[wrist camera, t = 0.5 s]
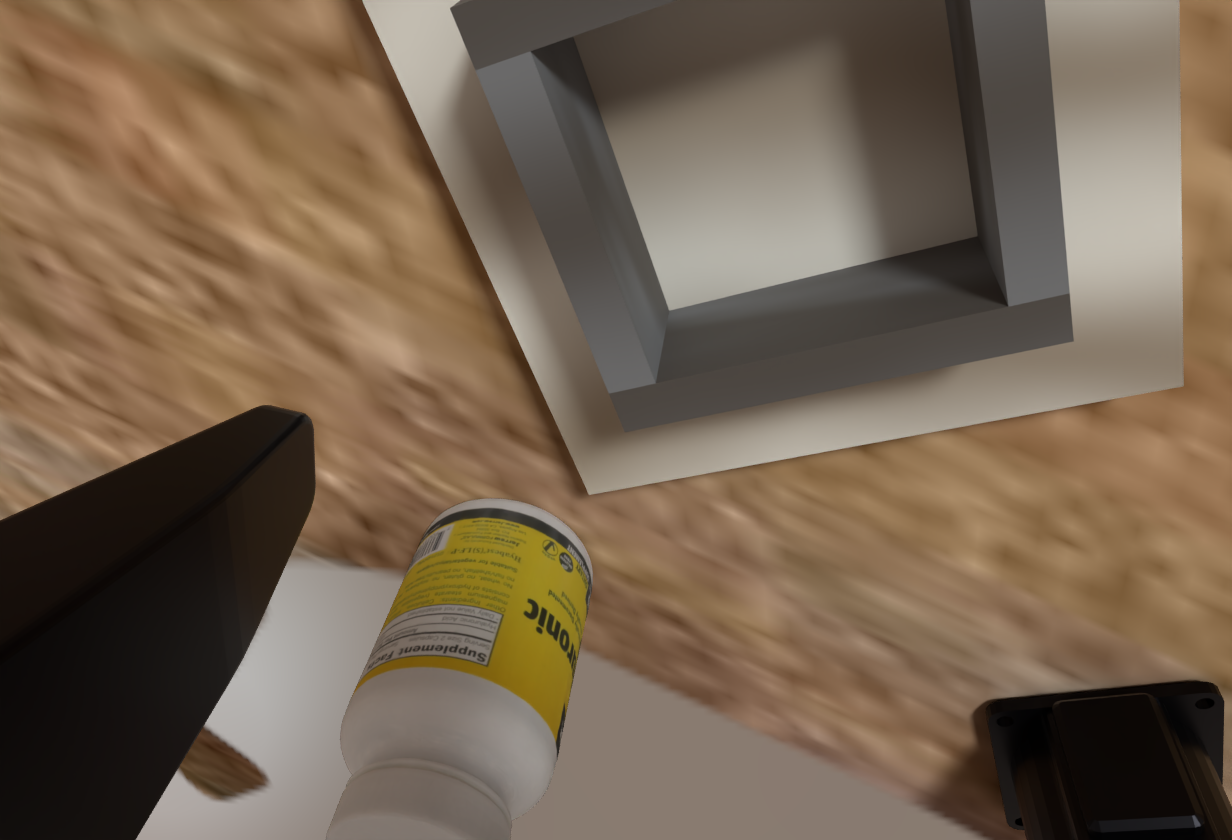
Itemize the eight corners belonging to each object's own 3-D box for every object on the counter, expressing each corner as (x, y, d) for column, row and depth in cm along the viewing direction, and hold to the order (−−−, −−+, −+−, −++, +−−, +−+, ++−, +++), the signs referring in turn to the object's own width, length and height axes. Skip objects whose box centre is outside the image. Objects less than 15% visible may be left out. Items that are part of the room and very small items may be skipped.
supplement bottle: (604, 623, 29) (543, 941, 21) (442, 614, 30) (325, 917, 22) (588, 492, 26) (509, 809, 18) (408, 487, 27) (257, 787, 19)
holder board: (1159, 350, 21) (1240, 472, 17) (597, 460, 25) (568, 576, 22) (1134, -593, 13) (1276, -734, 9) (307, -199, 17) (182, -189, 13)
